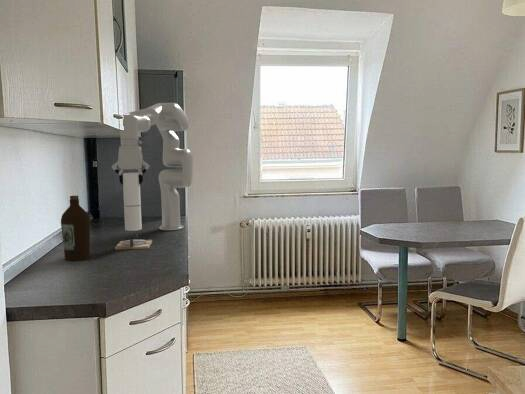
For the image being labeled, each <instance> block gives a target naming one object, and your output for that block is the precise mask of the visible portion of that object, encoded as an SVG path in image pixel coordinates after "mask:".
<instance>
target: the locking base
mask: <svg viewBox="0 0 525 394" xmlns="http://www.w3.org/2000/svg"><path fill="white" fill-rule="evenodd" d="M152 243H153V239H139V235H138V233H134V238H133V239H132V238H131V239H127V240H120V241H119V242H118V243H117V244H116V246H114V250H117V251H119V250H144V249H146V250H148V249H149V248H150V246H151V245H152Z"/></svg>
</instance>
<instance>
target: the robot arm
mask: <svg viewBox="0 0 525 394" xmlns="http://www.w3.org/2000/svg"><path fill="white" fill-rule="evenodd" d="M126 114H127V115H124V114H122V115H123V116H124V119H123V126H124V130H123V131H120V130H119V131H120V133H119V135H120V136H119V137H120V146H119V147H118V148H119V149H118V157H117V159H118V160H117V161H116V162H115V163H114V164H112V165H111V168H112V170H113V171H114V172H115V173H116V175H118V176H119V183H120V185H121V186H123V173H125V172H124V171H126V170H137V173H140V175H139V184H140V185H142V183H144V174H146V172H147V171H148V169H149V168H150V167H151V166H150V165H149V164H148V163H147V162H145V160H144V159H143V158H144V157H143V150H142V146H140V145H142V144H143V140H140V139H139V133H146V132H148V131H149V130H151V126H156V127H157V129H158V132H159V133H160V135H161V137H162V141H163V142H162V143H163V145H162V164H163V165H164V166H165V167H167V168H169V169H162V170H161V171H160V172H159V174H158V182H159V186H160V193H161V195H160V198H161V199H160V200H161V223H162V224H161V225H160V226H159V230H161V231H179V230H182V229H184V225H183V224H181V203H180V202H181V201H180V199H181V198H180V193H179V191H178V190H177V189H178V188H189V187H191V185H192V182H193V169H194V167H193V165H194V157H193V153H192V151H191V150H190V149H186V148H180V142H181V141H180V139H179V136H178V135H177V134H176V132H184V131H187V130H188V128H189V126H190V120H189V118H188V116H187V114H186V113H185V111H184V109H182V107H181V106H180V105H179V104H178V103H176V102H158V103H155V104H153V105H150V106H149V107H146V108H143V109H138V110H133V111H130V112H127V113H126ZM117 167H118V168H117ZM142 168H143V169H142ZM171 168H172V169H171ZM173 168H176V169H173ZM177 168H181V169H177Z"/></svg>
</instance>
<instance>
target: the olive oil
mask: <svg viewBox="0 0 525 394" xmlns="http://www.w3.org/2000/svg"><path fill="white" fill-rule="evenodd" d="M60 218H61V219H60V226H61V235H62V243H63V244H62V245H63V251H64V252H63V253H64V255H63V256H64V260H65V259H66V261H68V260H72V261H73V260H74V262H77V261H76V260H78V261H85V260H87V259H90V258H91V248H90V247H91V238H90V237H91V236H90V235H91V222H90V221H91V220H90V215H89V214H88V212H87V211H86V210H85V209H84V208H83V207H82V206H81V205H80V199H79V195H70V196H69V206H68V207H67V209H66V210H65V211H64V212H63V214H62V215H61V217H60ZM72 261H71V262H72Z"/></svg>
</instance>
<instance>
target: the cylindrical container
mask: <svg viewBox="0 0 525 394" xmlns="http://www.w3.org/2000/svg"><path fill="white" fill-rule="evenodd" d="M139 175H140V173H139V172H123V185H122V186H123V187H122V189H123V213H124V215H123V216H124V231H127V232H136V231H140V230H142V229H143V226H142V202H141V184H139Z"/></svg>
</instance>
